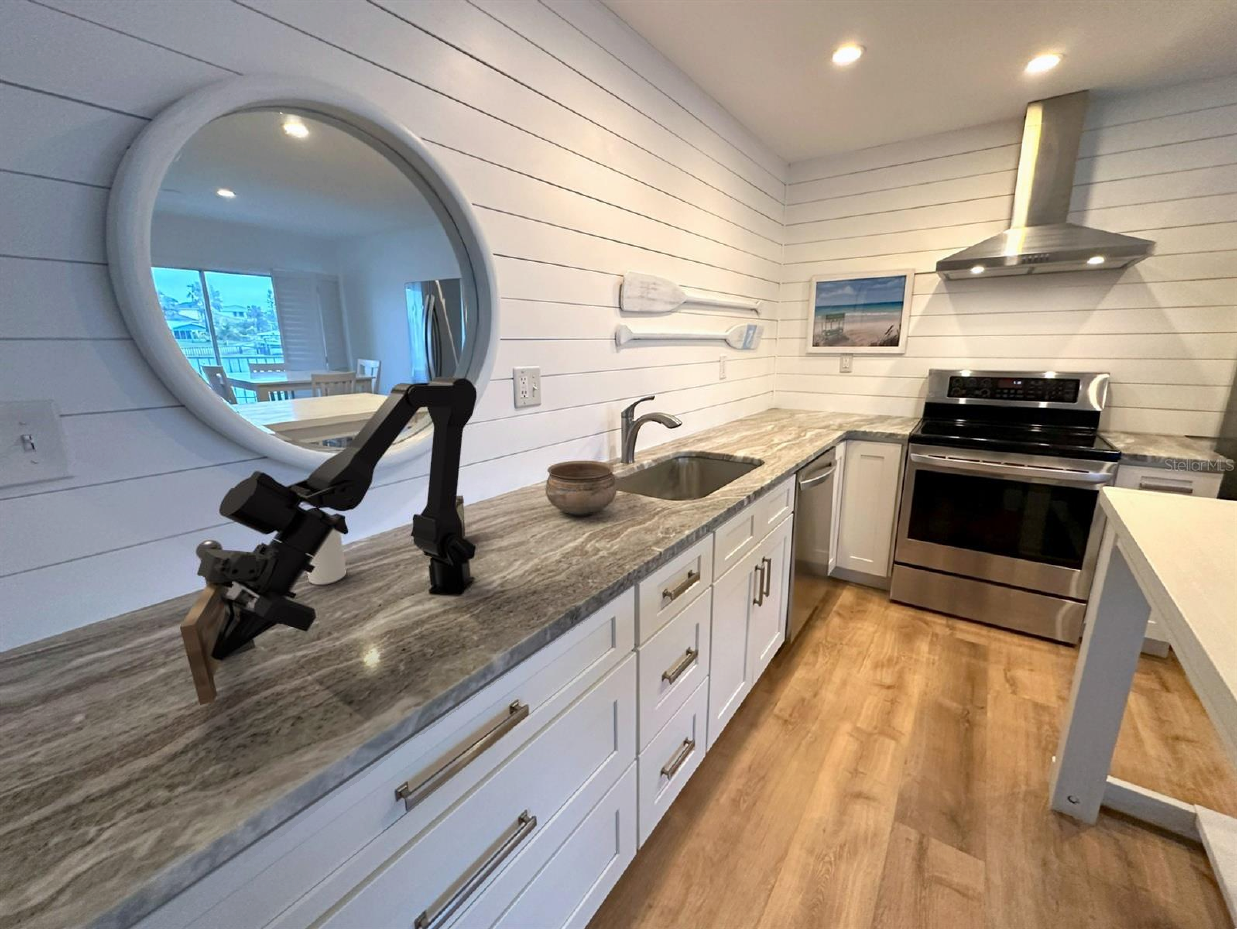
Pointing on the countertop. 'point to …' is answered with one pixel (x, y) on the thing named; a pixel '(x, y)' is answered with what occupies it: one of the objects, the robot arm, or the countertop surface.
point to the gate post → (217, 546)
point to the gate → (204, 639)
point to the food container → (461, 511)
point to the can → (328, 561)
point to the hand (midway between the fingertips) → (215, 658)
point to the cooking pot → (581, 486)
